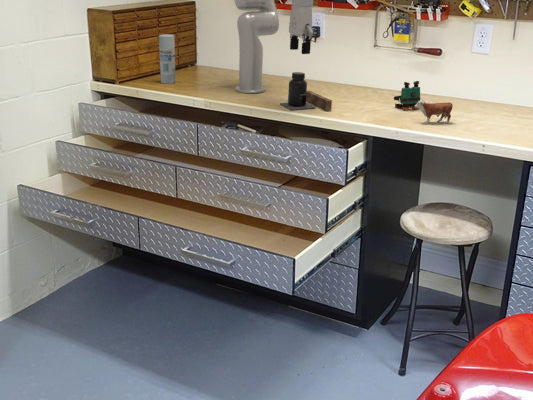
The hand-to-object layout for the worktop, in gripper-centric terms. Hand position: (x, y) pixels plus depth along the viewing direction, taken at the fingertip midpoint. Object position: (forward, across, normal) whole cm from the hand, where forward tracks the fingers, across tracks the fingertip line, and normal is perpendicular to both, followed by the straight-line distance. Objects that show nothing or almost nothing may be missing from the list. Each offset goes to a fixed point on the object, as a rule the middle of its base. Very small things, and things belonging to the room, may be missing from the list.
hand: (299, 51), depth 233 cm
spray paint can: (+22, -57, -35) cm, 70 cm away
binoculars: (+20, +15, +39) cm, 46 cm away
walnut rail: (+20, +2, +8) cm, 22 cm away
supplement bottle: (+20, 0, 0) cm, 20 cm away
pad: (+20, +1, 0) cm, 20 cm away
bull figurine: (+20, +37, +35) cm, 55 cm away
